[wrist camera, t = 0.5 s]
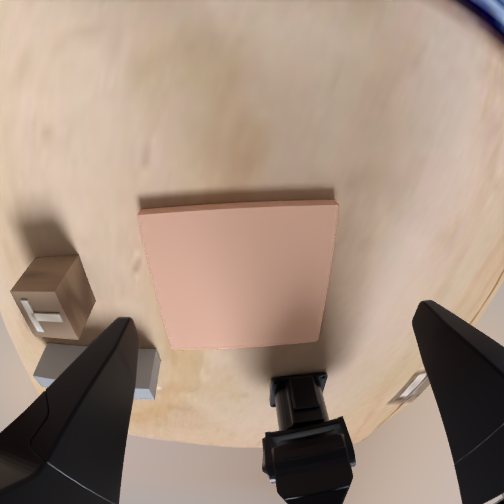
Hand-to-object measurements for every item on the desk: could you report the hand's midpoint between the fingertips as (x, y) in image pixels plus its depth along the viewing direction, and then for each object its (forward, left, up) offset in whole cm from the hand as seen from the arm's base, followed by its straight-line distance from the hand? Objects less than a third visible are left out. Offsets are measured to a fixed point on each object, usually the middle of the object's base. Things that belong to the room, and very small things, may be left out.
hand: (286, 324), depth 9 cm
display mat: (-9, +1, -14) cm, 16 cm away
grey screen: (-18, +17, -14) cm, 28 cm away
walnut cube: (-8, +17, -14) cm, 23 cm away
